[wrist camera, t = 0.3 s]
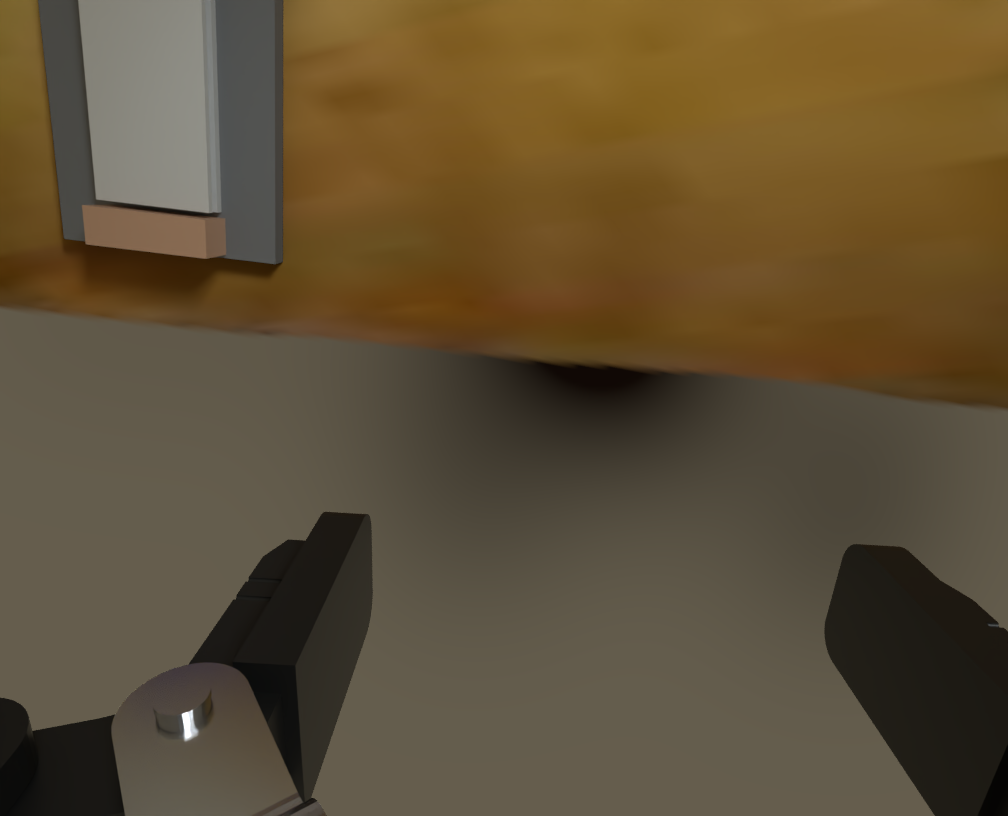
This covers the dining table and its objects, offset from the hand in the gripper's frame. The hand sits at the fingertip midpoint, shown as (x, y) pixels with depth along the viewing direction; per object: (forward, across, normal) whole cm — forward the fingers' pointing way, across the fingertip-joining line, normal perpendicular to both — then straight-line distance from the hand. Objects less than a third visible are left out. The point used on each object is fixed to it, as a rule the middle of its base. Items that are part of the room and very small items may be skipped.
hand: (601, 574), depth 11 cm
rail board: (+28, +21, -11) cm, 37 cm away
